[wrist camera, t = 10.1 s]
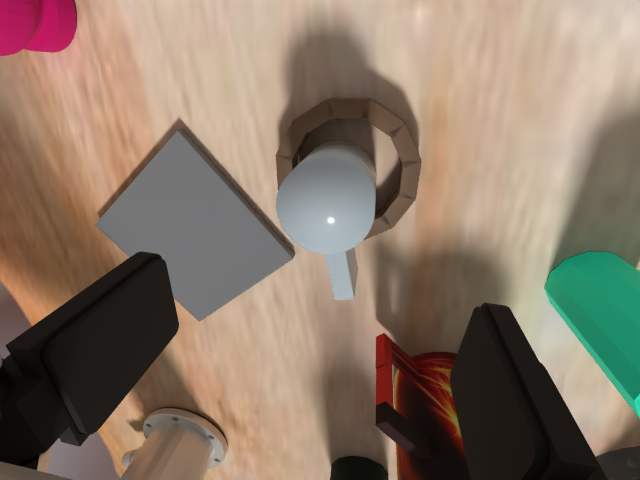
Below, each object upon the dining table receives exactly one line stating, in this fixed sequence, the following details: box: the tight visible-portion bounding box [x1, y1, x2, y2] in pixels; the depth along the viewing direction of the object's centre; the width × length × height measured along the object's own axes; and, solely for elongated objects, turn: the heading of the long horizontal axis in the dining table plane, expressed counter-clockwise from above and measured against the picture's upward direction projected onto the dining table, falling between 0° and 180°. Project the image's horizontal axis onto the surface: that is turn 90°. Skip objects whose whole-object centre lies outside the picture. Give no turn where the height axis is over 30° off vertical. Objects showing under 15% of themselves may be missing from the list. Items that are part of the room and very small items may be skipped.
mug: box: [376, 333, 471, 480], centre depth 28 cm, size 10×14×12 cm
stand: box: [276, 98, 421, 240], centre depth 24 cm, size 10×10×2 cm
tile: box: [95, 129, 295, 322], centre depth 29 cm, size 14×14×1 cm
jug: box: [276, 140, 376, 300], centre depth 23 cm, size 10×6×7 cm, turn 11°
